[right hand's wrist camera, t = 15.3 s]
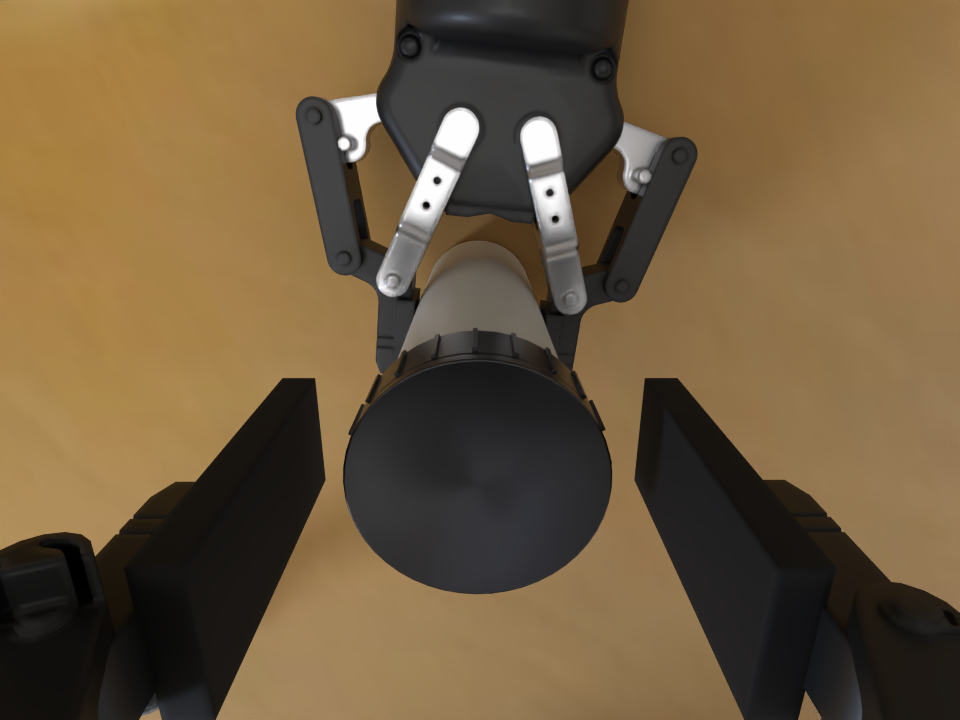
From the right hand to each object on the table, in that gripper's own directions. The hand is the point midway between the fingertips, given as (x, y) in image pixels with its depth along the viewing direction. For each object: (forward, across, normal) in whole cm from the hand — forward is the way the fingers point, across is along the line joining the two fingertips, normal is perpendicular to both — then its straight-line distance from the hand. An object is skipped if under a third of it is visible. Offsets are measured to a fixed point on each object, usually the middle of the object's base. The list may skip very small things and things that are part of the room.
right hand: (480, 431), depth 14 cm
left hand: (+10, 0, -3) cm, 10 cm away
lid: (-2, 0, 0) cm, 2 cm away
